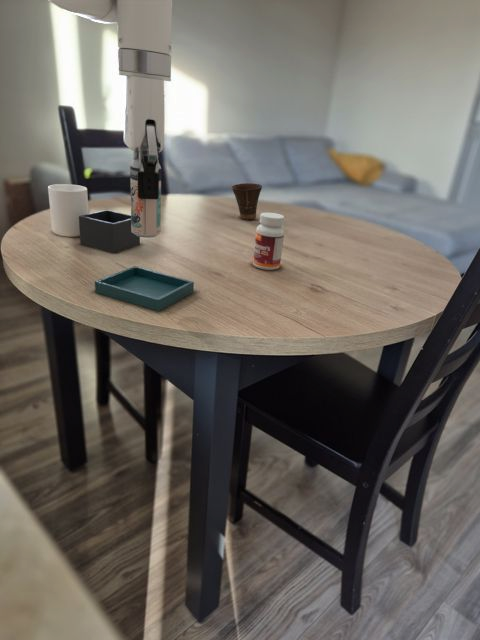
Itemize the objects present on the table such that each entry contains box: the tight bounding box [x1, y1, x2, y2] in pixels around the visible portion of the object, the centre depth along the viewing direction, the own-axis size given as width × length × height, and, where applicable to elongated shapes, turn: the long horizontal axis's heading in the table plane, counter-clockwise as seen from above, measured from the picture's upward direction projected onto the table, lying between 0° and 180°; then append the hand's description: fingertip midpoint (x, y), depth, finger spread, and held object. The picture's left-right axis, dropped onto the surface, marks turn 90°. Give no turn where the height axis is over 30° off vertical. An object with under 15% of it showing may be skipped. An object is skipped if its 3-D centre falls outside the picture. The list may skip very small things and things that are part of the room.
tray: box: [94, 265, 195, 312], centre depth 86 cm, size 13×11×2 cm
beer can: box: [129, 158, 162, 239], centre depth 79 cm, size 5×5×12 cm
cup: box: [231, 182, 263, 221], centre depth 144 cm, size 9×9×10 cm
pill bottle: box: [252, 212, 285, 271], centre depth 105 cm, size 6×6×11 cm
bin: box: [79, 209, 141, 254], centre depth 108 cm, size 9×9×6 cm
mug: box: [47, 183, 90, 238], centre depth 113 cm, size 12×8×10 cm
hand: (145, 193), depth 79 cm, fingers closed on beer can, 4 cm apart
